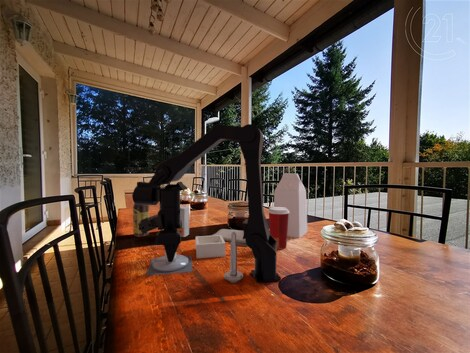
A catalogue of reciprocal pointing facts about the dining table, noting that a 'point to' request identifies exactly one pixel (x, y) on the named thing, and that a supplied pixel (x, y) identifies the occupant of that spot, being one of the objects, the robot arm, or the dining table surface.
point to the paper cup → (279, 225)
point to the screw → (233, 262)
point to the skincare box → (184, 221)
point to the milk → (293, 203)
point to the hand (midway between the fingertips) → (170, 259)
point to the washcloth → (227, 236)
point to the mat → (155, 272)
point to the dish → (210, 246)
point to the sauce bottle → (139, 218)
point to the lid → (170, 263)
